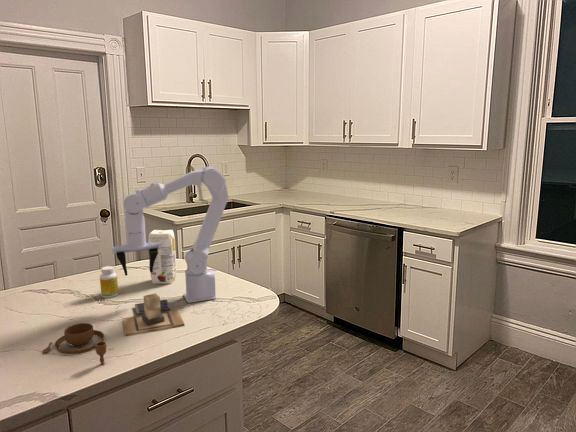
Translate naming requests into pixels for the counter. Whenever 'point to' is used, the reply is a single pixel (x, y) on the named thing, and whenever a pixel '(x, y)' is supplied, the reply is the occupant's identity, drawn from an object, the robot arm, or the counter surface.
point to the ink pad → (163, 305)
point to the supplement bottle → (108, 282)
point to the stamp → (152, 310)
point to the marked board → (138, 326)
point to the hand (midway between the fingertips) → (138, 273)
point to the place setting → (81, 340)
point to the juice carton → (164, 257)
